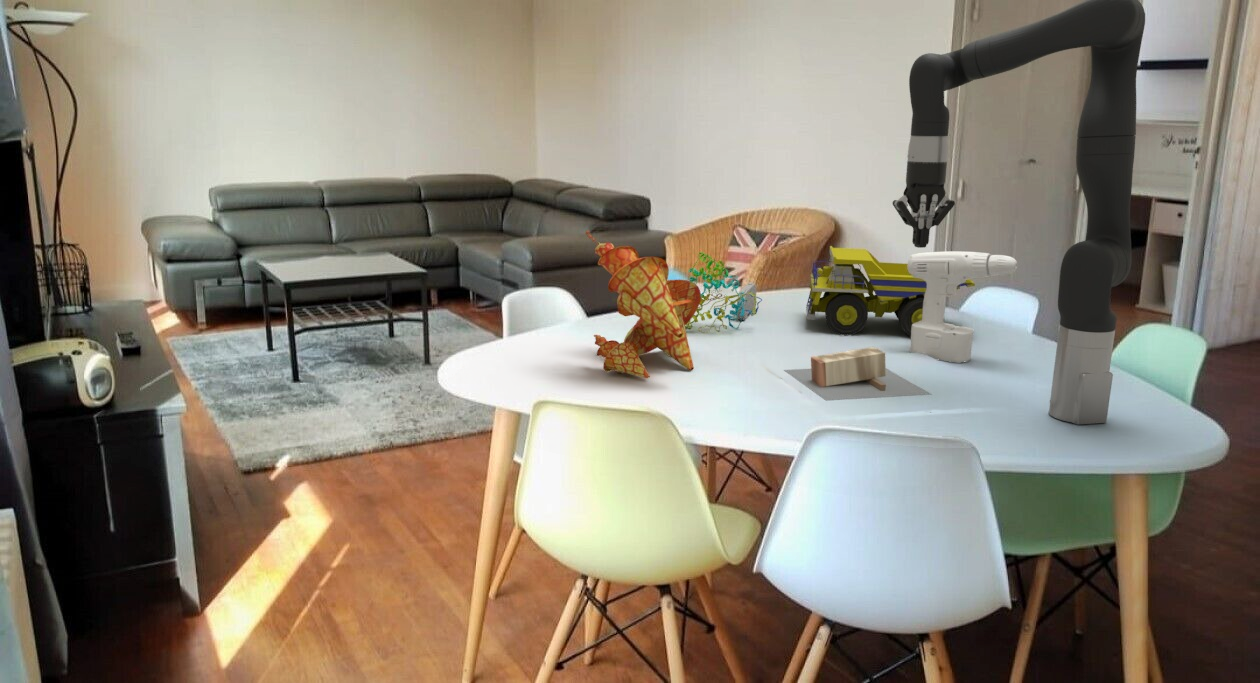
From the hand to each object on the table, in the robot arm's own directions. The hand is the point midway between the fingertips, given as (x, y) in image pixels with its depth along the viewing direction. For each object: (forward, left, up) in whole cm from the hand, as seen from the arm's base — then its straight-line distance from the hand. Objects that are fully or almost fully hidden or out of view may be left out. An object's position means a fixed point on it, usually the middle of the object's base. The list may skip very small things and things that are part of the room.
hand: (920, 246), depth 189 cm
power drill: (+17, -20, -29) cm, 39 cm away
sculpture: (+24, +50, -29) cm, 62 cm away
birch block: (0, +7, -24) cm, 25 cm away
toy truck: (+49, -19, -29) cm, 60 cm away
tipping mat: (0, +12, -29) cm, 31 cm away
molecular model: (+55, +26, -29) cm, 67 cm away
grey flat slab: (+70, +11, -29) cm, 77 cm away
